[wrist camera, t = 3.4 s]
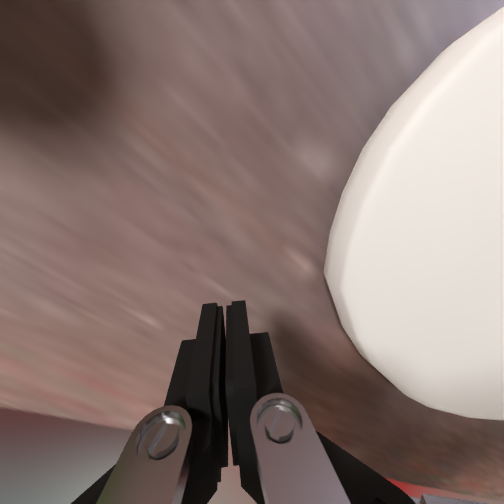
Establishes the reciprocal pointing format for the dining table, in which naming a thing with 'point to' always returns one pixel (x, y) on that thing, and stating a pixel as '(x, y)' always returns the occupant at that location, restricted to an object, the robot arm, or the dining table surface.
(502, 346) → the plate
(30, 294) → the dining table surface
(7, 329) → the dining table surface
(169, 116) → the dining table surface
